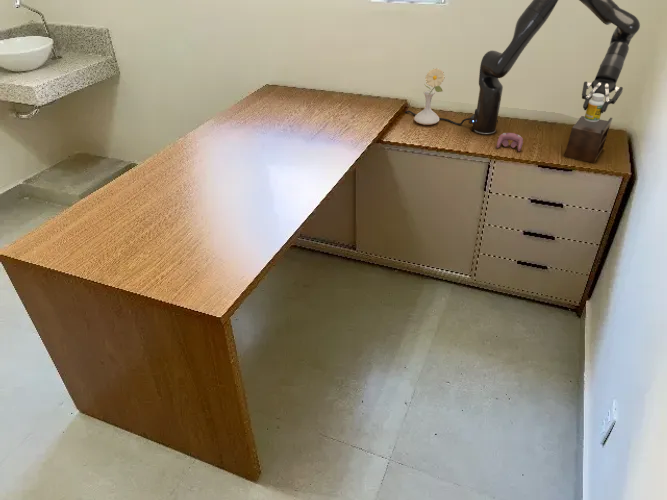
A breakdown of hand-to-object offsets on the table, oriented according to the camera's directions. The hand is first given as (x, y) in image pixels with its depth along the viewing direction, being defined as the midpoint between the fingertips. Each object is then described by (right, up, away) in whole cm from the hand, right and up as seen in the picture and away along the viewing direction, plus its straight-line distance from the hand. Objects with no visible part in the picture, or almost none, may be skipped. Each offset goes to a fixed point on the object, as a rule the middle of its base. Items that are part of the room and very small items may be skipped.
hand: (593, 110), depth 190 cm
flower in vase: (-55, +6, +41) cm, 69 cm away
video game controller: (-26, -11, +18) cm, 33 cm away
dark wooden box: (+2, -14, +12) cm, 19 cm away
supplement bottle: (+1, -3, +4) cm, 5 cm away
